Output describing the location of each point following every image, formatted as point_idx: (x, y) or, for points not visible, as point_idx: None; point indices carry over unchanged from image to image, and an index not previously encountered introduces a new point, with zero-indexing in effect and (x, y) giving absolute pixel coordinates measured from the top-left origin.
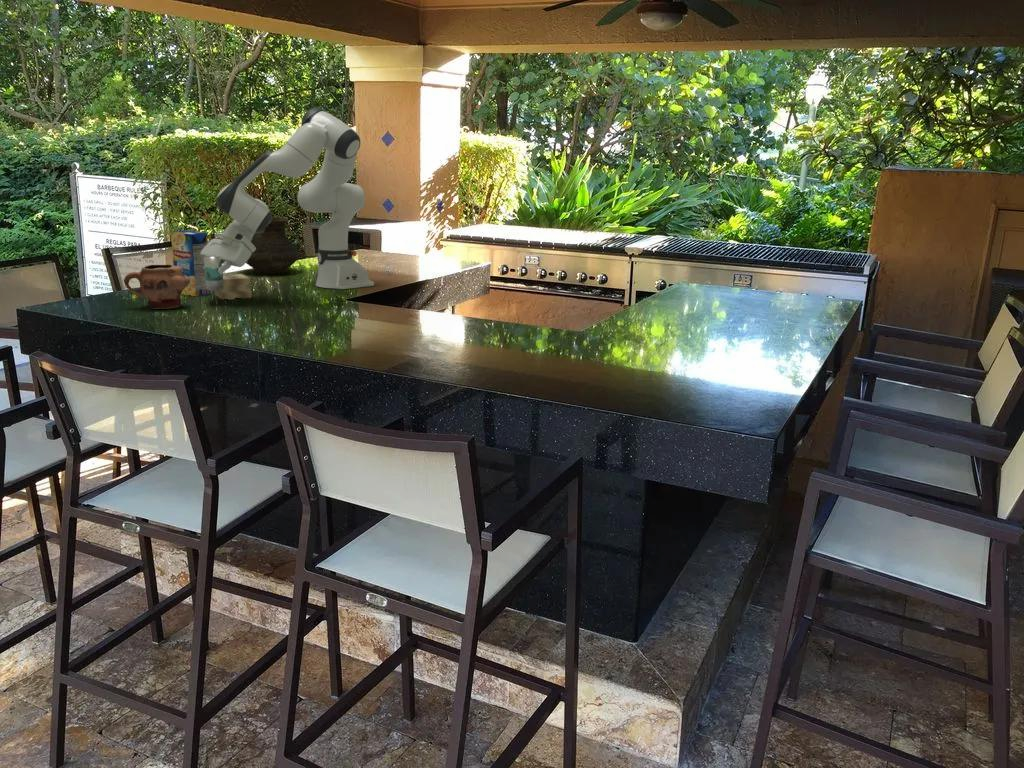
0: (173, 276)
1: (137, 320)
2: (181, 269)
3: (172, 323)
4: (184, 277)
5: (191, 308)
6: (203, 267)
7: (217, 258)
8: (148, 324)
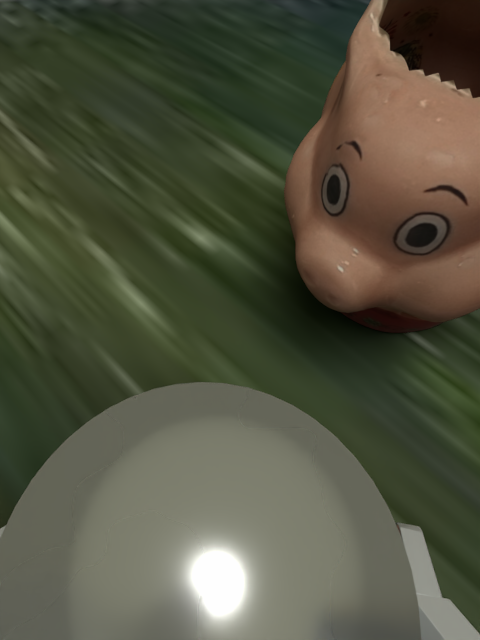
0: (325, 117)
1: (237, 59)
2: (353, 160)
3: (91, 93)
4: (313, 217)
5: (256, 318)
6: (420, 531)
7: (11, 540)
8: (152, 47)
